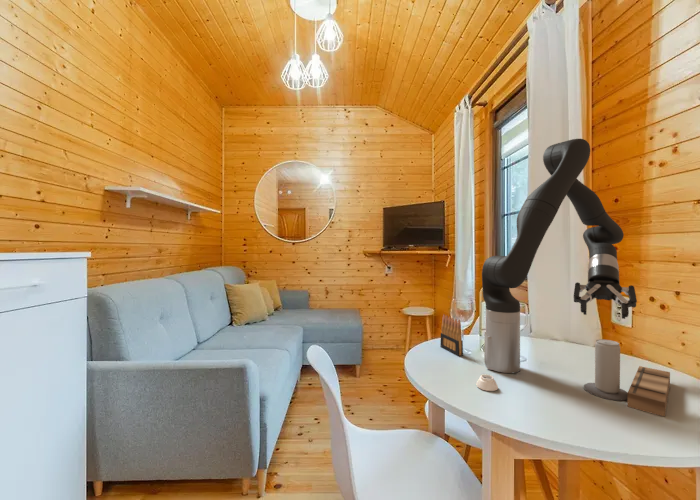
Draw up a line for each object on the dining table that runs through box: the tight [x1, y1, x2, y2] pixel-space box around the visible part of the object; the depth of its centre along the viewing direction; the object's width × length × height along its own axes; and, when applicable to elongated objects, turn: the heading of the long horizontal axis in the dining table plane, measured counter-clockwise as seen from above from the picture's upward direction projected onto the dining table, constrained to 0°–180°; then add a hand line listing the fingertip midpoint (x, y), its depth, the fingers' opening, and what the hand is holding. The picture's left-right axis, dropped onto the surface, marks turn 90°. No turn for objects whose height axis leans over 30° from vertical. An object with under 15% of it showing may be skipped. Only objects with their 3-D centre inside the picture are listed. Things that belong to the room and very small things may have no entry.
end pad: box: [583, 382, 628, 402], centre depth 79 cm, size 9×9×1 cm
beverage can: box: [594, 338, 621, 394], centre depth 79 cm, size 5×5×12 cm
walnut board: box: [626, 365, 671, 417], centre depth 78 cm, size 24×6×3 cm, turn 133°
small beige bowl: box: [475, 373, 499, 392], centre depth 82 cm, size 5×3×5 cm
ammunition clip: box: [439, 314, 464, 357], centre depth 110 cm, size 11×2×12 cm, turn 17°
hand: (603, 315), depth 90 cm, fingers open, 8 cm apart
